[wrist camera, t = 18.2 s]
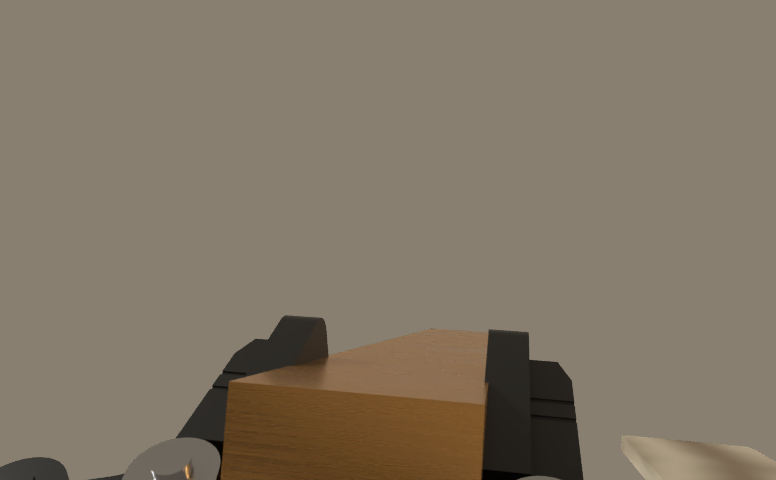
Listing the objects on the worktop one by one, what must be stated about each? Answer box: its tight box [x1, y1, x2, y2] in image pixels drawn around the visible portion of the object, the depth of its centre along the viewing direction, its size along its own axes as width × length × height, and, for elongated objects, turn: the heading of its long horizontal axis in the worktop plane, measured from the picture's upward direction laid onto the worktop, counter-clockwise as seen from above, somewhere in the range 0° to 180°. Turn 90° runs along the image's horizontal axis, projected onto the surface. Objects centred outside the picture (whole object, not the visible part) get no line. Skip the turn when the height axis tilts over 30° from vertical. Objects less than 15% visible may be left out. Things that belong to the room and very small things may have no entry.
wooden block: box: [220, 329, 489, 480], centre depth 19 cm, size 3×24×3 cm, turn 170°
